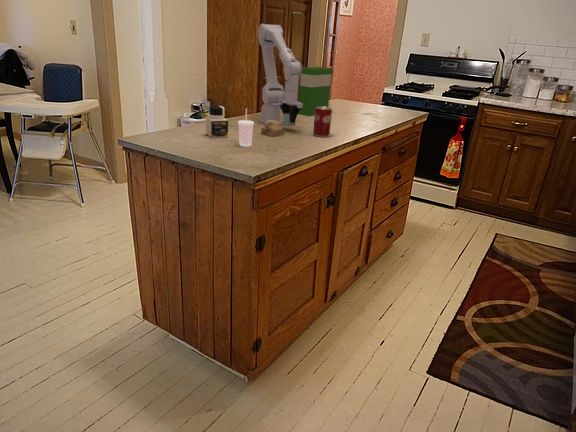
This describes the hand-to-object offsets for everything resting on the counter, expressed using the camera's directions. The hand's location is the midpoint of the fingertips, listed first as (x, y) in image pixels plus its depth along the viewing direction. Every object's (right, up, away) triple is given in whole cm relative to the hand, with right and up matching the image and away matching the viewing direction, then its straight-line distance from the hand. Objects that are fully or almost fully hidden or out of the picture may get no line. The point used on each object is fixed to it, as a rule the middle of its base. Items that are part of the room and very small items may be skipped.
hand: (289, 121), depth 197 cm
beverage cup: (-17, -15, -28) cm, 36 cm away
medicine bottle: (-30, -10, -17) cm, 35 cm away
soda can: (+14, -7, -4) cm, 16 cm away
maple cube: (-7, -5, -9) cm, 13 cm away
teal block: (0, -1, +1) cm, 2 cm away
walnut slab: (-7, -8, -8) cm, 13 cm away
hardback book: (+13, +14, +45) cm, 49 cm away
